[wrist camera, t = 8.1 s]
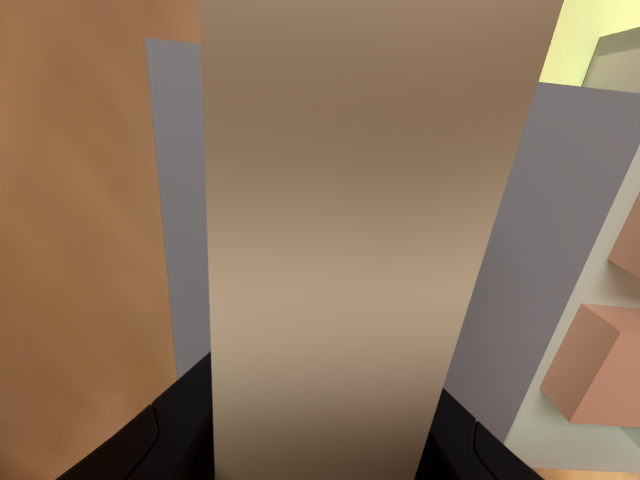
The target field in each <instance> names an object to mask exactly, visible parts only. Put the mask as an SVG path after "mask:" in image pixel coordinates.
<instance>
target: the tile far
mask: <svg viewBox="0 0 640 480" xmlns="http://www.w3.org/2000/svg"><path fill="white" fill-rule="evenodd" d="M540 388H541V389H542V390H543V392H544V393H545V394H546V395H547V396H548V398H549V399H550V400H551V401H552V403H553V404H554V405H555V406H556V407H557V409H558V410H559V411H560V412H561V414H562V415H563V416H564V417H565V418H566V420H567V421H568V422H569V423H581V424H595V425H609V426H622V427H636V428H640V309H637V308H626V307H616V306H606V305H595V304H585V303H581V305H580V307H579V309H578V311H577V313H576V315H575V317H574V319H573V321H572V323H571V325H570V327H569V329H568V331H567V333H566V335H565V337H564V339H563V341H562V343H561V345H560V347H559V349H558V351H557V353H556V355H555V357H554V359H553V361H552V363H551V365H550V367H549V369H548V371H547V373H546V375H545V377H544V379H543V381H542V383H541V385H540Z"/></svg>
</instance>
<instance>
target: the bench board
mask: <svg viewBox="0 0 640 480" xmlns="http://www.w3.org/2000/svg"><path fill="white" fill-rule="evenodd" d="M145 43H146V53H147V64H148V75H149V85H150V96H151V106H152V117H153V127H154V138H155V148H156V159H157V169H158V180H159V190H160V201H161V212H162V222H163V233H164V243H165V254H166V264H167V275H168V285H169V296H170V306H171V317H172V327H173V338H174V348H175V359H176V370H177V380H178V379H179V378H180V377H181V376H183V375H184V374H185V373H186V372H187V371H188V370H189V369H190V368H192V367H193V366H194V365H195V364H196V363H197V362H198V361H200V360H201V359H202V358H203V357H204V356H205V355H206V354H207V353H209V352H210V351H211V335H210V304H209V273H208V241H207V210H206V179H205V147H204V116H203V84H202V53H201V44H196V43H187V42H178V41H169V40H160V39H151V38H145ZM639 145H640V93H632V92H623V91H614V90H605V89H597V88H588V87H579V86H570V85H561V84H552V83H543V82H538V84H537V88H536V91H535V94H534V97H533V100H532V104H531V107H530V110H529V113H528V116H527V120H526V123H525V126H524V129H523V132H522V136H521V139H520V142H519V145H518V148H517V152H516V155H515V158H514V161H513V164H512V168H511V171H510V174H509V177H508V180H507V184H506V187H505V190H504V193H503V196H502V200H501V203H500V206H499V209H498V212H497V216H496V219H495V222H494V225H493V228H492V232H491V235H490V238H489V241H488V244H487V248H486V251H485V254H484V257H483V260H482V264H481V267H480V270H479V273H478V276H477V280H476V283H475V286H474V289H473V292H472V296H471V299H470V302H469V305H468V308H467V312H466V315H465V318H464V321H463V324H462V328H461V331H460V334H459V337H458V340H457V344H456V347H455V350H454V353H453V356H452V360H451V363H450V366H449V369H448V372H447V376H446V379H445V382H444V385H443V388H444V389H446V390H447V391H448V392H449V393H450V394H451V395H452V396H453V397H454V398H455V399H456V400H457V401H458V402H459V403H460V404H461V405H462V406H463V407H464V408H466V409H467V410H468V411H469V412H470V413H471V414H472V415H473V416H474V417H475V418H476V422H477V421H479V422H480V423H481V424H483V425H484V426H485V427H486V428H487V429H488V430H489V431H490V432H491V433H492V434H493V435H494V436H495V437H496V438H497V439H499V440H500V441H501V442H502V443H503V444H504V442H505V439H506V437H507V435H508V433H509V431H510V428H511V426H512V424H513V422H514V420H515V417H516V415H517V413H518V411H519V409H520V406H521V404H522V402H523V400H524V398H525V395H526V393H527V391H528V389H529V387H530V384H531V382H532V380H533V378H534V376H535V374H536V371H537V369H538V367H539V365H540V363H541V360H542V358H543V356H544V354H545V352H546V349H547V347H548V345H549V343H550V341H551V338H552V336H553V334H554V332H555V330H556V327H557V325H558V323H559V321H560V319H561V316H562V314H563V312H564V310H565V308H566V305H567V303H568V301H569V299H570V297H571V294H572V292H573V290H574V288H575V286H576V283H577V281H578V279H579V277H580V275H581V272H582V270H583V268H584V266H585V264H586V261H587V259H588V257H589V255H590V253H591V250H592V248H593V246H594V244H595V242H596V239H597V237H598V235H599V233H600V231H601V228H602V226H603V224H604V222H605V220H606V218H607V215H608V213H609V211H610V209H611V207H612V204H613V202H614V200H615V198H616V196H617V193H618V191H619V189H620V187H621V185H622V182H623V180H624V178H625V176H626V174H627V171H628V169H629V167H630V165H631V163H632V160H633V158H634V156H635V154H636V152H637V149H638V147H639Z"/></svg>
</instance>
